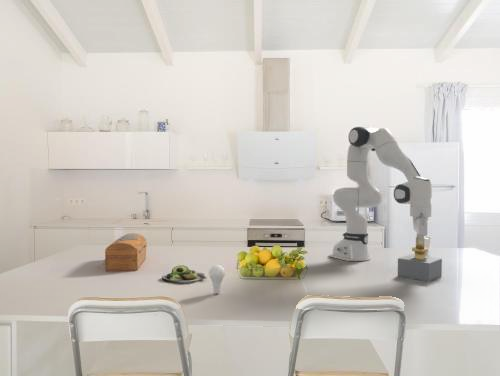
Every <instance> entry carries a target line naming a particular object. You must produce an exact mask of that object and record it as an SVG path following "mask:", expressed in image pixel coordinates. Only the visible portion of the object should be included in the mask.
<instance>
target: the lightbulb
mask: <svg viewBox="0 0 500 376" xmlns="http://www.w3.org/2000/svg"><path fill="white" fill-rule="evenodd" d="M225 271H226V270H225V269H224V267H223V266H221V265H219V264H214V265H212V266H211V267H210V268H209V271H208V276H209V278H210V280H211V282H212V288H213V293H215V294H219V293H221V286H222V282H223V280H224V277H225V276H226V272H225Z"/></svg>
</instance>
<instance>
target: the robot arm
mask: <svg viewBox="0 0 500 376" xmlns="http://www.w3.org/2000/svg"><path fill="white" fill-rule="evenodd" d="M348 143H349V146H348V150H347V154H346V156H347V159H346V176H347V178H348V179H349V180H351V181H352V182H355V183H356V184H357V186H358V187H341V188H337V189H335V191H334V192H333V194H332V199H333V203H334V204H335V206H336V207H338V208H339V209H340V210H341V211H342V212H343V214H344V217H345V222H346V231H345V232H344V233H342V235H341V236H342V237H343V238H342V239H341V240H340V241H338V242H336V244H334V246H333V249H332V252H331V253H330V252H329V254H328V257H330V258H335V259H338V260H343V261H347V262H353V261H354V262H366V261H369V260H371V258H370V257H371V256H370V254H369V253H370V252H369V246H368V243H369V233H368V218H367V217H366V216H364V214H361V213H359V212H357V209H359V208H365V209H369V208H370V209H371V208H376V207H379V206H380V205H381V203H382V199H383V196H382V193H381V191H380V189H378V188H377V187H376V186H374V184H373V182H372V181H371V179H370V176H369V164H368V163H369V159H368V156H369V153H370V151H372V152H375V154H376V157H377V158H378V160H379V161H380V162H381V164H383V165H385V166H387V167H390V168H393V169H396V170H398V171H399V172H401V173H402V174H403V176H404V177H405V178H406V179H407V181H406V182H403V183H399V184H397V185H396V186H395V187H394V189H393V198H394V201H395V202H396V203H398V204H401V205H409V216H410V217H412V224H413V225H412V226H413V230H414V231H415V233H416V237H419V240H418V243H419V244H423V239H424V237H428V221H429V218H431V217H432V203H431V201H432V200H431V199H432V196H433V194H432V193H433V191H432V190H433V189H432V182H431V179H429V178H427V177H424V176H421V175H420V173H419V171H418V169H417V168H416V167H415V165H414V163H413V161H412V160H411V159H410V158H409V157H408V156H407V155H406V153H404V151H402V148H400V146H399V143H398V141H397V140H396V138H395V137H394V135H393V133H392V132H391V131H390V129H389V128H384V127H383V128H382V127H381V128H376V127H365V126H355V127H353V128H351V129H350V131H349V133H348Z"/></svg>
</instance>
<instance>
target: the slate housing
mask: <svg viewBox="0 0 500 376" xmlns="http://www.w3.org/2000/svg"><path fill="white" fill-rule="evenodd" d="M442 265H443V258H439V257H431V256H429V257H427V256H425V260H418V259H415V254H414V253H413V254H412V253H411V254H407V255H404V256H401V257H398V258H397V277H402V278H406V279H407V278H408V279H412V280H416V279H418V280H417V281H422V280H424V281H423V282H427V281H430V282H432V281H434V280H436V278H437V279H439V278H441V277H442V276H443V275H442V272H443V267H442ZM438 277H439V278H438ZM433 279H434V280H433ZM431 280H432V281H431Z"/></svg>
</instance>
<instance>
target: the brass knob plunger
mask: <svg viewBox="0 0 500 376" xmlns="http://www.w3.org/2000/svg"><path fill="white" fill-rule="evenodd" d="M418 240H419V237H417V236H416V237H415V246H414V247H411V251H412V252H414V255H415V259H418V260H425V252H428V249H427V248H424V241H425V238H424V239H423V244H419V243H418Z"/></svg>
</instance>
